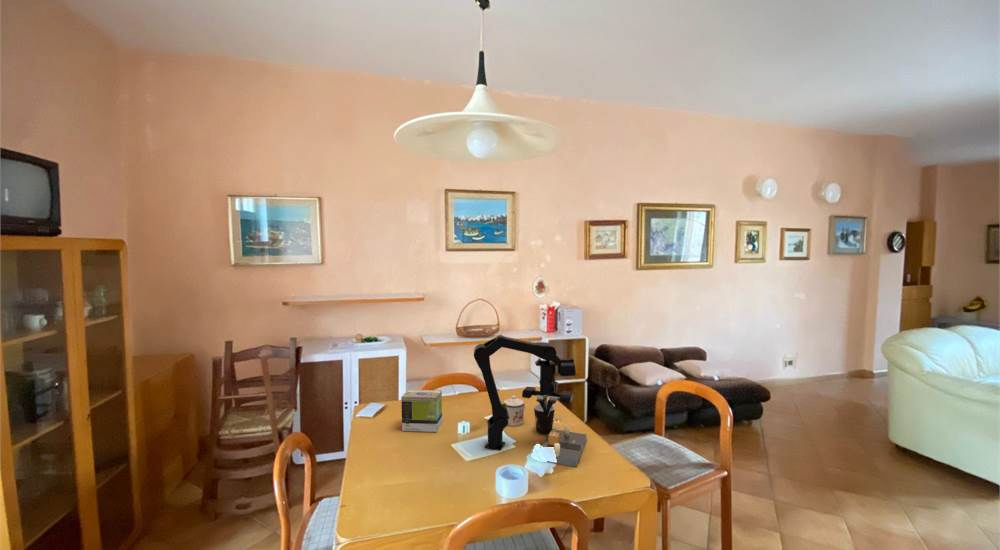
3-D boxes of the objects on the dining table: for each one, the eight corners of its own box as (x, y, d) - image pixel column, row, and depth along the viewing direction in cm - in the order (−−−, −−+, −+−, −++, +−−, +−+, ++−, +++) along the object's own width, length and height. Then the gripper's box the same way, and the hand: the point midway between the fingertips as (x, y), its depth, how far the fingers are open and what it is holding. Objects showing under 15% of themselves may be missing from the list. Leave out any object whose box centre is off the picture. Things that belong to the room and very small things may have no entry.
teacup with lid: (515, 428, 175) (515, 401, 174) (498, 422, 181) (498, 396, 180) (532, 420, 184) (532, 394, 183) (516, 414, 190) (516, 389, 189)
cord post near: (559, 457, 145) (559, 445, 145) (553, 456, 146) (553, 445, 146) (560, 454, 147) (560, 443, 147) (554, 453, 148) (555, 442, 148)
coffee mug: (553, 436, 167) (554, 412, 167) (532, 434, 169) (532, 410, 168) (555, 425, 179) (556, 402, 178) (535, 423, 180) (535, 400, 180)
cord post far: (568, 437, 161) (568, 427, 161) (563, 436, 162) (563, 426, 162) (569, 435, 163) (569, 425, 163) (564, 434, 164) (564, 424, 163)
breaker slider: (557, 446, 153) (557, 436, 153) (548, 444, 154) (548, 435, 154) (559, 441, 156) (560, 432, 156) (550, 440, 158) (550, 431, 158)
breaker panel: (576, 467, 143) (576, 459, 143) (537, 460, 148) (537, 452, 148) (586, 440, 164) (586, 434, 164) (551, 435, 169) (551, 428, 169)
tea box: (442, 423, 180) (442, 389, 180) (436, 433, 170) (436, 397, 170) (408, 421, 182) (408, 388, 181) (401, 431, 172) (400, 396, 171)
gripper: (575, 373, 163) (575, 412, 164) (529, 368, 170) (529, 406, 170) (570, 381, 153) (569, 423, 153) (521, 376, 159) (521, 416, 160)
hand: (547, 416), depth 159 cm, fingers closed
